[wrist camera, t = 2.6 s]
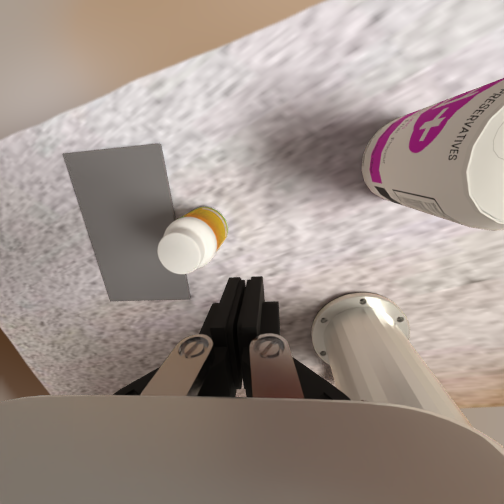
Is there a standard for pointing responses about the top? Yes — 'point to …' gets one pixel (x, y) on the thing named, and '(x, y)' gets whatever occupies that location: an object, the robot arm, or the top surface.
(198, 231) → the supplement bottle
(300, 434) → the robot arm
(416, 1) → the top surface
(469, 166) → the supplement can
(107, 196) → the mat
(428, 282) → the top surface
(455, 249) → the top surface
